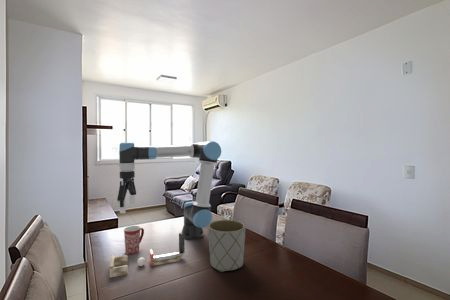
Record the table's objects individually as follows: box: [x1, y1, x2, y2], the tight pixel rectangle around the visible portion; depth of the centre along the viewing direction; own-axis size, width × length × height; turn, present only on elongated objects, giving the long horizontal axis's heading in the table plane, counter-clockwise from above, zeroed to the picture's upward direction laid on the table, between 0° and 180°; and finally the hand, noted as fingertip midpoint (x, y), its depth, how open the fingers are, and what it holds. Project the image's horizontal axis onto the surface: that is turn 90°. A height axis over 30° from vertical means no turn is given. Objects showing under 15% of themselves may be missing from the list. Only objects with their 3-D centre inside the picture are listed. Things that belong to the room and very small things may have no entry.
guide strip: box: [152, 254, 182, 267], centre depth 121 cm, size 14×4×3 cm, turn 113°
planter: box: [207, 219, 246, 273], centre depth 118 cm, size 19×19×20 cm
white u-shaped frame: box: [149, 232, 186, 267], centre depth 122 cm, size 18×6×13 cm, turn 113°
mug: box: [123, 225, 145, 255], centre depth 134 cm, size 13×9×14 cm
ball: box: [136, 257, 146, 267], centre depth 116 cm, size 4×4×4 cm
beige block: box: [109, 254, 128, 278], centre depth 112 cm, size 8×12×5 cm, turn 23°
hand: (127, 209), depth 126 cm, fingers open, 13 cm apart
